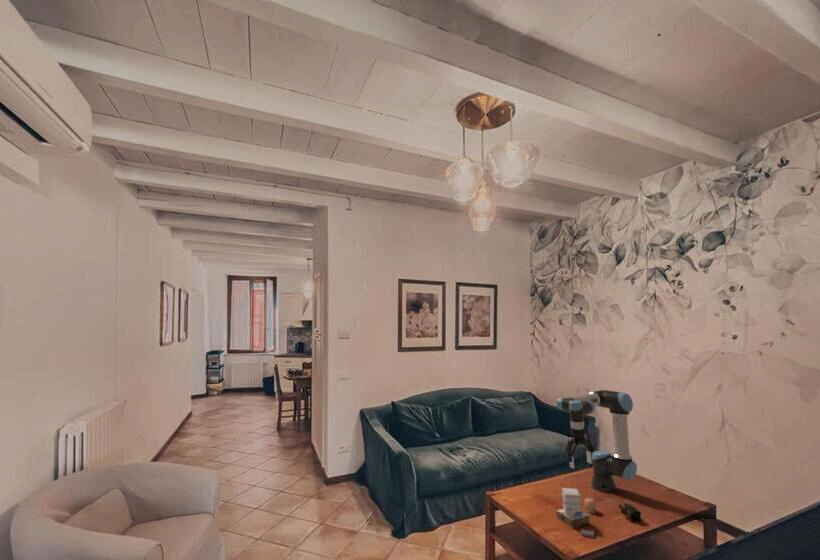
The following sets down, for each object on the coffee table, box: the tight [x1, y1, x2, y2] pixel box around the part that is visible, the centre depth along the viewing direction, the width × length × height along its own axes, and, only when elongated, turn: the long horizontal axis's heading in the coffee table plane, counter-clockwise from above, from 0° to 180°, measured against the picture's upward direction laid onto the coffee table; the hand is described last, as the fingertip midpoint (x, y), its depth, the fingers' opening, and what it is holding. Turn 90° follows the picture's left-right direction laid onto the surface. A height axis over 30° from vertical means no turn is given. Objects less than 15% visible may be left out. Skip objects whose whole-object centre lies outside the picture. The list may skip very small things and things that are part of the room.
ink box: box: [561, 487, 582, 517], centre depth 220 cm, size 8×8×12 cm
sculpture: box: [618, 502, 642, 523], centre depth 222 cm, size 13×6×7 cm, turn 8°
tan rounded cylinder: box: [584, 497, 597, 514], centre depth 230 cm, size 6×6×6 cm
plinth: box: [556, 508, 590, 529], centre depth 220 cm, size 12×12×4 cm
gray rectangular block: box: [580, 528, 595, 539], centre depth 205 cm, size 6×4×2 cm, turn 67°
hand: (580, 465), depth 226 cm, fingers open, 13 cm apart
